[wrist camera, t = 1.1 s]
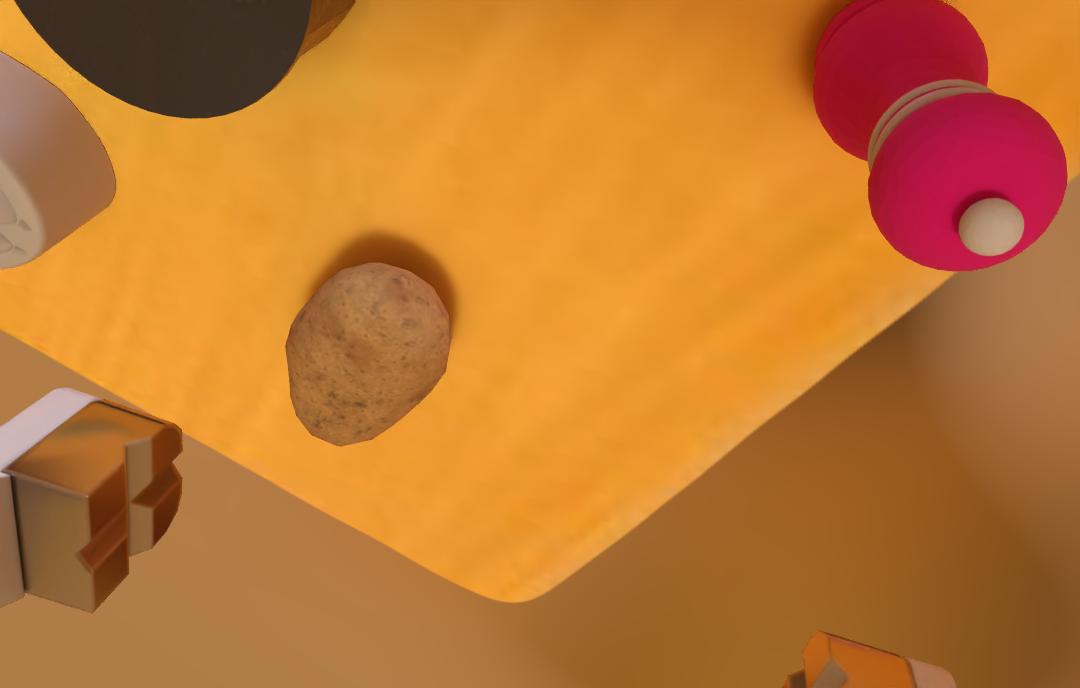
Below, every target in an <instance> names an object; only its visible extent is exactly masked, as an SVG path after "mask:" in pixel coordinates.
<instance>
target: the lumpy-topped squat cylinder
mask: <svg viewBox="0 0 1080 688" xmlns="http://www.w3.org/2000/svg"><path fill="white" fill-rule="evenodd" d="M115 189H116V182H115V176H114V172H113V168H112V165H111V162H110V160H109V157H108V155H107V153H106V151H105V148H104V146H103V144H102V143H101V141H100V139H99V138H98V136H97V135H96V133H95V132H94V130H93V129H92V128H91V126H90V125H89V123H88V122H87V121H86V120H85V118H84V117H83V116H82V114H81V113H80V112H79V111H78V109H77V108H76V107H75V106H74V105H73V103H72V102H71V101H70V100H69V99H68V98H67V97H66V95H65V94H64V93H62V92H61V91H60V90H59V89H58V88H57V87H55V86H54V85H53V84H51V83H50V82H48V81H47V80H46V79H44V78H43V77H41V76H40V75H38V74H37V73H35V72H34V71H32V70H31V69H29V68H27V67H26V66H24V65H23V64H21V63H19V62H18V61H16V60H14V59H13V58H11V57H9V56H8V55H6V54H4V53H2V52H0V269H7V268H13V267H17V266H21V265H23V264H26V263H28V262H30V261H32V260H34V259H36V258H37V257H39V256H40V255H41V254H43V253H44V252H46V251H47V250H49V249H50V248H52V247H53V246H54V245H56V244H57V243H59V242H60V241H61V240H63V239H64V238H65V237H67V236H68V235H70V234H71V233H72V232H74V231H75V230H76V229H78V228H79V227H81V226H82V225H83V224H85V223H86V222H87V221H89V220H90V219H92V218H93V217H94V216H96V215H97V214H98V213H100V212H101V211H103V210H104V209H105V208H107V207H108V206H109V205H110V203H111V202H112V200H113V198H114V195H115Z"/></svg>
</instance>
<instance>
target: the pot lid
mask: <svg viewBox="0 0 1080 688" xmlns="http://www.w3.org/2000/svg"><path fill="white" fill-rule="evenodd" d="M14 1H15V2H16V4H17V5H18V7H19V9H20V10H21V12H22V13H23V14H24V16H25V17H26V18H27V20H28V21H29V22H30V24H31V25H32V26H33V28H34V29H35V30H36V32H37V33H38V34H39V35H40V36H41V37H42V38H43V39H44V41H45V42H46V43H47V44H48V45H49V46H50V47H51V48H52V49H53V50H54V51H55V52H56V53H57V54H58V55H59V56H60V57H61V58H62V59H63V60H64V61H65V62H66V63H67V64H68V65H70V66H71V67H72V68H73V69H74V70H76V71H77V72H78V73H79V74H81V75H82V76H83V77H85V78H86V79H87V80H89V81H90V82H91V83H93V84H94V85H96V86H98V87H99V88H101V89H102V90H104V91H105V92H107V93H109V94H110V95H112V96H114V97H116V98H118V99H120V100H122V101H124V102H126V103H128V104H131V105H133V106H136V107H139V108H141V109H144V110H147V111H150V112H154V113H158V114H162V115H166V116H172V117H180V118H210V117H217V116H223V115H227V114H230V113H233V112H236V111H239V110H242V109H244V108H245V107H247V106H249V105H251V104H253V103H255V102H257V101H258V100H260V99H261V98H262V97H264V96H265V95H266V94H268V93H269V92H270V91H272V90H273V89H274V88H275V87H276V86H277V85H278V84H279V83H280V82H281V81H282V80H283V79H284V78H285V77H286V76H287V75H288V73H289V72H290V70H291V69H292V67H293V66H294V64H295V63H296V61H297V60H298V58H299V56H300V54H301V52H302V50H303V47H304V45H305V43H306V41H307V38H308V34H309V31H310V28H311V24H312V21H313V15H314V8H315V2H316V0H14Z"/></svg>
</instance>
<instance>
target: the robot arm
mask: <svg viewBox="0 0 1080 688" xmlns="http://www.w3.org/2000/svg"><path fill="white" fill-rule="evenodd" d="M182 451H183V444H182V429H181V428H179V427H178V426H177V425H176V424H175V423H172V422H169V421H166V420H163V419H160V418H157V417H155V416H152V415H149V414H146V413H143V412H140V411H137V410H134V409H132V408H129V407H126V406H123V405H120V404H117V403H114V402H111V401H109V400H106V399H99V398H97V397H94V396H91V395H89V394H86V393H83V392H80V391H77V390H75V389H72V388H69V387H66V388H59V389H54V390H52V391H51V392H49V393H48V394H47V395H45V396H44V397H43V398H41V399H39V400H38V401H36V402H35V403H34V404H33V405H31V406H29V407H28V408H26V409H25V410H24V411H22V412H21V413H19V414H18V415H16V416H15V417H13V418H12V419H11V420H9V421H8V422H6V423H5V424H3V425H2V426H1V427H0V608H2V607H4V606H6V605H8V604H10V603H12V602H14V601H16V600H19V599H21V598H23V597H24V595H25V594H24V592H25V593H28V594H31V595H34V596H38V597H41V598H44V599H48V600H51V601H54V602H57V603H61V604H64V605H67V606H70V607H73V608H77V609H80V610H83V611H87V612H90V613H93V612H94V611H95V610H96V609H97V608H98V607H99V606H100V605H101V604H102V602H104V600H105V599H106V598H107V597H108V596H109V595H110V594H111V593H112V592H113V591H114V589H115V588H116V587H117V586H118V585H119V584H120V583H121V582H122V581H123V580H124V578H126V576H127V575H128V574H129V557H130V556H133V555H136V554H138V553H141V552H143V551H146V550H149V549H152V548H153V547H154V545H155V544H156V543H157V542H158V541H159V540H160V539H161V537H162V536H163V535H164V534H165V533H166V531H167V530H168V528H169V526H170V524H171V522H172V520H173V518H174V516H175V514H176V513H177V511H178V506H179V502H180V499H181V495H182V477H181V475H180V474H179V472H178V471H177V469H176V467H175V466H174V464H173V463H172V461H173V460H174V459H175V458H176V457H177V456H178V455H179V454H180V453H181V452H182ZM802 652H803V661H804V669H802V670H800V671H797V672H795V673H793V674H790V675H788V677H787V679H786V680H785V682H784V684H783V686H782V688H956V685H955V682H954V679H953V677H952V676H951V674H950V673H949V672H948V671H947V670H946V669H945V668H941V667H938V666H935V665H931V664H928V663H925V662H922V661H918V660H915V659H912V658H908V657H905V656H902V657H901V656H899V655H897V654H894V653H890V652H887V651H884V650H881V649H877V648H874V647H871V646H868V645H865V644H862V643H858V642H855V641H852V640H849V639H845V638H842V637H839V636H836V635H833V634H830V633H826V632H823V631H820V630H819V631H818V632H816V633H815V634H814V635H813V636H811V638H810V639H809V641H808V643H807V644H806V646H805V648H804V649H803V651H802Z"/></svg>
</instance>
